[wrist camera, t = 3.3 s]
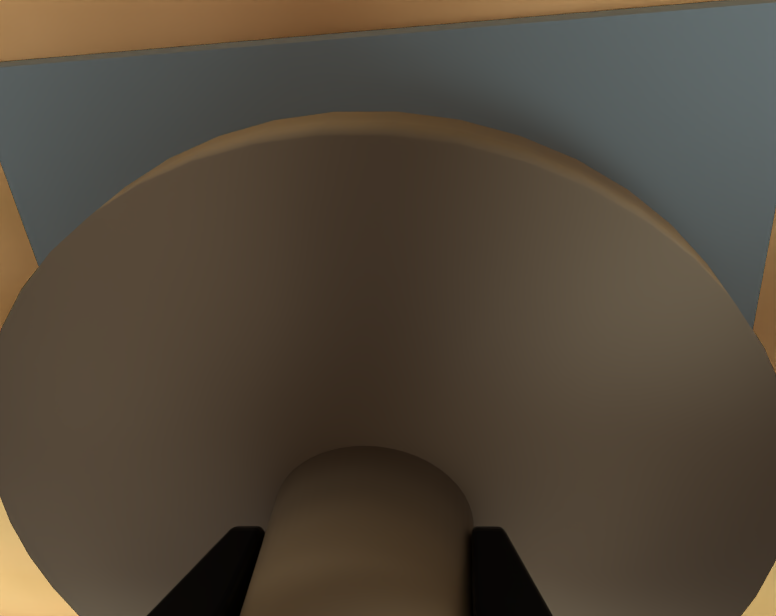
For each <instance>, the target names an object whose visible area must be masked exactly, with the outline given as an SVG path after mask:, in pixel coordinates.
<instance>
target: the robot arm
mask: <svg viewBox="0 0 776 616" xmlns="http://www.w3.org/2000/svg"><path fill="white" fill-rule="evenodd" d="M264 536H265V531H264V530H263V528H262V527H259V526H235V527H233V528H231V529H230V530H229V531H228V532H227V533H226V534H225V535H224V536H223V537H222V538H221V539H220V540H219V541H218V542H217V543H216V544H215V545H214V546H213V547H212V548H211V549H210V550H209V551H208V553H207V554H206V555H205V556H204V557H203V558H202V559H201V560H200V561H199V562H198V563H197V564H196V565H195V566H194V567H193V568H192V569H191V570H190V571H189V572H188V573H187V574H186V575H185V576H184V577H183V578H182V579H181V580H180V581H179V583H178V584H177V585H176V586H175V587H174V588H173V589H172V590H171V591H170V592H169V593H168V594H167V595H166V596H165V597H164V598H163V599H162V600H161V601H160V602H159V603H158V604H157V605H156V606H155V607H154V608H153V609H152V610H151V612H150V613H149V614H148V615H147V616H240V613H241V609H242V606H243V603H244V600H245V597H246V594H247V590H248V587H249V584H250V581H251V578H252V574H253V571H254V568H255V565H256V562H257V558H258V555H259V552H260V549H261V546H262V542H263V539H264ZM471 538H472V599H473V616H553V615H552V613H551V611H550V610H549V608H548V606H547V604H546V602H545V601H544V599H543V597H542V595H541V593H540V592H539V590H538V588H537V586H536V585H535V583H534V581H533V579H532V577H531V576H530V574H529V572H528V570H527V569H526V567H525V565H524V563H523V561H522V560H521V558H520V556H519V554H518V553H517V551H516V549H515V547H514V545H513V544H512V542H511V540H510V538H509V537H508V535H507V533H506V531H505V530H504V529H503V528H502V527H499V526H476V527H474V528H473V529H472V532H471Z"/></svg>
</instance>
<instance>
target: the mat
mask: <svg viewBox="0 0 776 616" xmlns="http://www.w3.org/2000/svg"><path fill="white" fill-rule="evenodd" d="M329 112H405V113H412V114H420V115H428V116H435V117H443V118H451V119H459V120H463V121H467V122H470V123H474V124H478V125H482V126H485V127H489V128H493V129H497V130H500V131H504V132H508V133H512V134H515V135H519V136H522V137H524V138H527V139H529V140H531V141H534V142H536V143H539V144H541V145H543V146H546V147H548V148H551V149H553V150H555V151H558V152H560V153H563V154H565V155H567V156H570V157H572V158H575V159H577V160H579V161H580V162H582V163H584V164H585V165H587V166H589V167H590V168H592V169H594V170H595V171H597V172H599V173H601V174H602V175H604V176H606V177H607V178H609V179H611V180H612V181H614V182H616V183H617V184H619V185H621V186H623V187H624V188H626V189H628V190H629V191H630V192H631V193H633V194H634V195H635V196H636V197H638V198H639V199H640V200H641V201H643V202H644V203H645V204H646V205H648V206H649V207H650V208H651V209H652V210H654V211H655V212H656V213H657V214H659V215H660V216H661V217H662V218H664V219H665V220H666V221H667V222H669V223H670V224H671V225H672V226H673V227H674V228H675V229H676V230H677V231H678V233H679V234H680V235H681V236H682V237H683V238H684V239H685V240H686V241H687V242H688V243H689V245H690V246H691V247H692V248H693V249H694V250H695V251H696V252H697V253H698V254H699V256H700V257H701V258H702V259H703V260H704V261H705V262H706V263H707V264H708V266H709V267H710V269H711V270H712V271H713V273H714V274H715V276H716V277H717V278H718V280H719V281H720V283H721V284H722V286H723V287H724V288H725V290H726V291H727V293H728V294H729V295H730V297H731V298H732V300H733V301H734V302H735V304H736V305H737V307H738V308H739V310H740V312H741V313H742V315H743V316H744V318H745V319H746V321H747V322H748V324H749V325H750V327H751V328H752V330H753V326H754V320H755V315H756V310H757V304H758V299H759V294H760V288H761V283H762V278H763V272H764V267H765V262H766V256H767V251H768V246H769V240H770V235H771V230H772V224H773V219H774V214H775V208H776V0H724V1H712V2H700V3H689V4H677V5H665V6H653V7H641V8H630V9H618V10H606V11H594V12H583V13H571V14H559V15H547V16H535V17H524V18H512V19H500V20H488V21H477V22H465V23H453V24H441V25H429V26H418V27H406V28H394V29H382V30H371V31H359V32H347V33H335V34H323V35H312V36H300V37H288V38H276V39H265V40H253V41H241V42H229V43H217V44H206V45H194V46H182V47H170V48H159V49H147V50H135V51H123V52H111V53H100V54H88V55H76V56H64V57H53V58H41V59H29V60H17V61H5V62H0V162H1V165H2V168H3V170H4V173H5V176H6V179H7V181H8V184H9V187H10V190H11V192H12V195H13V198H14V200H15V203H16V206H17V209H18V211H19V214H20V217H21V220H22V222H23V225H24V228H25V230H26V233H27V236H28V239H29V241H30V244H31V247H32V250H33V252H34V255H35V258H36V260H37V263H38V266H40V265H41V263H42V262H43V261H44V259H45V258H46V257H47V256H48V254H49V253H50V252H51V251H52V250H53V249H54V248H55V247H56V246H57V245H58V244H59V243H60V242H62V241H63V240H64V239H65V238H66V237H67V236H68V235H69V234H70V233H71V232H72V231H74V230H75V229H76V228H77V227H78V226H79V225H80V224H81V223H82V222H83V221H85V220H86V219H87V218H88V217H89V216H90V215H91V214H93V213H94V212H95V211H96V210H98V209H99V208H100V207H101V206H102V205H104V204H105V203H106V202H107V201H109V200H110V199H111V198H112V197H114V196H115V195H116V194H117V193H118V192H120V191H121V190H122V189H123V188H125V187H126V186H127V185H129V184H130V183H132V182H133V181H135V180H137V179H138V178H140V177H141V176H143V175H144V174H146V173H147V172H149V171H150V170H152V169H154V168H155V167H157V166H158V165H160V164H161V163H163V162H164V161H166V160H167V159H169V158H171V157H173V156H176V155H178V154H180V153H182V152H184V151H187V150H189V149H191V148H193V147H196V146H198V145H200V144H202V143H204V142H207V141H209V140H211V139H213V138H216V137H218V136H221V135H224V134H228V133H231V132H235V131H238V130H242V129H245V128H249V127H252V126H256V125H259V124H263V123H266V122H270V121H273V120H279V119H286V118H293V117H300V116H308V115H315V114H322V113H329Z"/></svg>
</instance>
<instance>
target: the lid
mask: <svg viewBox="0 0 776 616" xmlns="http://www.w3.org/2000/svg"><path fill="white" fill-rule="evenodd" d="M0 497H1V500H2V502H3V505H4V507H5V510H6V512H7V515H8V517H9V520H10V522H11V524H12V526H13V528H14V530H15V531H16V533H17V535H18V537H19V538H20V540H21V542H22V544H23V545H24V547H25V549H26V551H27V553H28V554H29V556H30V557H31V559H32V560H33V562H34V563H35V564H36V566H37V567H38V568H39V570H40V571H41V572H42V574H43V575H44V576H45V578H46V579H47V580H48V582H49V583H50V584H51V586H52V587H53V588H54V589H55V590H56V591H57V593H58V594H59V595H60V596H61V597H62V598H63V599H64V600H65V601H66V602H67V603H68V604H69V605H70V607H71V608H72V609H73V610H74V611H75V612H76V613H77V614H78V615H79V616H147V615H148V614H149V613H150V612H151V610H152V609H153V608H154V607H155V606H156V605H157V604H158V603H159V602H160V601H161V600H162V599H163V598H164V597H165V596H166V595H167V594H168V593H169V592H170V591H171V590H172V589H173V588H174V587H175V586H176V585H177V584H178V583H179V581H180V580H181V579H182V578H183V577H184V576H185V575H186V574H187V573H188V572H189V571H190V570H191V569H192V568H193V567H194V566H195V565H196V564H197V563H198V562H199V561H200V560H201V559H202V558H203V557H204V556H205V555H206V554H207V553H208V551H209V550H210V549H211V548H212V547H213V546H214V545H215V544H216V543H217V542H218V541H219V540H220V539H221V538H222V537H223V536H224V535H225V534H226V533H227V532H228V531H229V530H230V529H231V528H233V527H235V526H259V527H262V528H263V530H264V531H265V536H264V539H263V542H262V546H261V549H260V552H259V555H258V558H257V562H256V565H255V568H254V571H253V574H252V578H251V581H250V584H249V587H248V590H247V594H246V597H245V600H244V603H243V606H242V609H241V613H240V616H473V599H472V538H471V532H472V529H473V528H474V527H476V526H499V527H502V528H503V529H504V530H505V531H506V533H507V535H508V537H509V538H510V540H511V542H512V544H513V545H514V547H515V549H516V551H517V553H518V554H519V556H520V558H521V560H522V561H523V563H524V565H525V567H526V569H527V570H528V572H529V574H530V576H531V577H532V579H533V581H534V583H535V585H536V586H537V588H538V590H539V592H540V593H541V595H542V597H543V599H544V601H545V602H546V604H547V606H548V608H549V610H550V611H551V613H552V615H553V616H741V615H742V614H743V612H744V611H745V610H746V609H747V607H748V606H749V605H750V603H751V602H752V601H753V600H754V598H755V597H756V595H757V593H758V592H759V590H760V588H761V586H762V584H763V583H764V581H765V579H766V577H767V575H768V574H769V572H770V570H771V568H772V566H773V565H774V563H775V561H776V374H775V372H774V370H773V367H772V365H771V363H770V360H769V358H768V356H767V353H766V351H765V348H764V347H763V345H762V344H761V342H760V341H759V339H758V338H757V336H756V335H755V333H754V331H753V330H752V328H751V327H750V325H749V324H748V322H747V321H746V319H745V318H744V316H743V315H742V313H741V312H740V310H739V308H738V307H737V305H736V304H735V302H734V301H733V300H732V298H731V297H730V295H729V294H728V293H727V291H726V290H725V288H724V287H723V286H722V284H721V283H720V281H719V280H718V278H717V277H716V276H715V274H714V273H713V271H712V270H711V269H710V267H709V266H708V264H707V263H706V262H705V261H704V260H703V259H702V258H701V257H700V256H699V254H698V253H697V252H696V251H695V250H694V249H693V248H692V247H691V246H690V245H689V243H688V242H687V241H686V240H685V239H684V238H683V237H682V236H681V235H680V234H679V233H678V231H677V230H676V229H675V228H674V227H673V226H672V225H671V224H670V223H669V222H667V221H666V220H665V219H664V218H662V217H661V216H660V215H659V214H657V213H656V212H655V211H654V210H652V209H651V208H650V207H649V206H648V205H646V204H645V203H644V202H643V201H641V200H640V199H639V198H638V197H636V196H635V195H634V194H633V193H631V192H630V191H629V190H628V189H626V188H624V187H623V186H621V185H619V184H617V183H616V182H614V181H612V180H611V179H609V178H607V177H606V176H604V175H602V174H601V173H599V172H597V171H595V170H594V169H592V168H590V167H589V166H587V165H585V164H584V163H582V162H580V161H579V160H577V159H575V158H572V157H570V156H567V155H565V154H563V153H560V152H558V151H555V150H553V149H551V148H548V147H546V146H543V145H541V144H539V143H536V142H534V141H531V140H529V139H527V138H524V137H522V136H519V135H515V134H512V133H508V132H504V131H500V130H497V129H493V128H489V127H485V126H482V125H478V124H474V123H470V122H467V121H463V120H459V119H451V118H443V117H435V116H428V115H420V114H412V113H405V112H329V113H322V114H315V115H308V116H300V117H293V118H286V119H279V120H273V121H270V122H266V123H263V124H259V125H256V126H252V127H249V128H245V129H242V130H238V131H235V132H231V133H228V134H224V135H221V136H218V137H216V138H213V139H211V140H209V141H207V142H204V143H202V144H200V145H198V146H196V147H193V148H191V149H189V150H187V151H184V152H182V153H180V154H178V155H176V156H173V157H171V158H169V159H167V160H166V161H164V162H163V163H161V164H160V165H158V166H157V167H155V168H154V169H152V170H150V171H149V172H147V173H146V174H144V175H143V176H141V177H140V178H138V179H137V180H135V181H133V182H132V183H130V184H129V185H127V186H126V187H125V188H123V189H122V190H121V191H120V192H118V193H117V194H116V195H115V196H114V197H112V198H111V199H110V200H109V201H107V202H106V203H105V204H104V205H102V206H101V207H100V208H99V209H98V210H96V211H95V212H94V213H93V214H91V215H90V216H89V217H88V218H87V219H86V220H85V221H83V222H82V223H81V224H80V225H79V226H78V227H77V228H76V229H75V230H74V231H72V232H71V233H70V234H69V235H68V236H67V237H66V238H65V239H64V240H63V241H62V242H60V243H59V244H58V245H57V246H56V247H55V248H54V249H53V250H52V251H51V252H50V253H49V254H48V256H47V257H46V258H45V259H44V261H43V262H42V263H41V265H40V266H39V267H38V269H37V270H36V271H35V272H34V274H33V275H32V276H31V278H30V279H29V280H28V282H27V283H26V284H25V285H24V287H23V288H22V289H21V291H20V293H19V295H18V297H17V299H16V301H15V303H14V305H13V307H12V309H11V311H10V313H9V315H8V317H7V319H6V321H5V323H4V324H3V326H2V328H1V331H0Z"/></svg>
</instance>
